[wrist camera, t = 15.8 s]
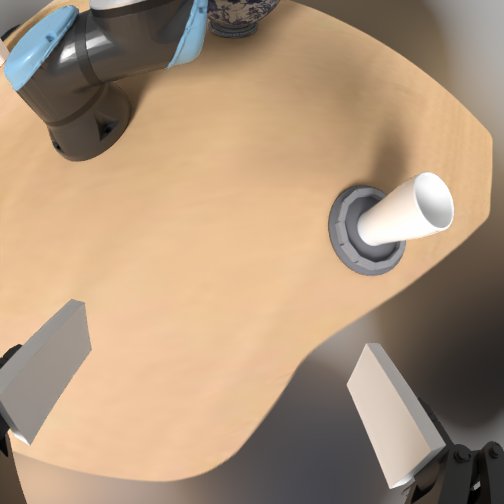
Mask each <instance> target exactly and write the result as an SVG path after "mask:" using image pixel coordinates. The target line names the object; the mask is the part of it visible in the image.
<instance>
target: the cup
mask: <svg viewBox="0 0 504 504" xmlns="http://www.w3.org/2000/svg"><path fill="white" fill-rule="evenodd" d="M9 54H10V52H9V51H8V49H7V48H6V46H5V45H4V43H3V42H2V40H1V39H0V67H1V66H2V65H3V64H4V63H5V61H6V60H7V58H8V56H9Z"/></svg>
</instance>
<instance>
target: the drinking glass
mask: <svg viewBox="0 0 504 504" xmlns="http://www.w3.org/2000/svg"><path fill="white" fill-rule="evenodd" d="M453 216H454V205H453V200H452V197H451V194H450V192H449V190H448V188H447V186H446V185H445V183H444V182H443V181H442V180H441V179H440V178H439V177H438V176H437V175H435V174H433V173H431V172H421V173H419V174H418V175H416V176H414V177H412V178H410V179H408V180H407V181H405V182H404V183H402V184H401V185H399V186H398V187H397V188H395V189H394V190H393V191H392V192H390V193H389V194H388V195H387V196H386V197H384V198H383V199H382V200H381V201H379V202H378V203H377V204H376V205H374V206H373V207H372V208H371V209H369V210H368V211H366V212H364V213H363V214H362V215H361V216H360V217H359V220H358V223H357V230H358V234H359V236H360V238H361V239H362V240H363V241H364V242H365V243H366V244H368V245H371V246H378V245H381V244H385V243H391V242H398V241H404V240H410V239H416V238H421V237H425V236H429V235H432V234H435V233H437V232H440V231H442V230H445V229H447V228H448V227H449V226H450V224H451V223H452V220H453Z"/></svg>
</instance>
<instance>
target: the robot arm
mask: <svg viewBox="0 0 504 504" xmlns="http://www.w3.org/2000/svg"><path fill="white" fill-rule="evenodd" d="M89 5H90V10H87V11H85V12H82V13H79V9H78V8H76V7H75V6H73V5H69V6H65V7H62V8H60V9H58V10H56V11H54V12H52V13H51V14H49V15H48V16H46V17H45V18H43V19H42V20H41V21H39V22H38V23H37V24H36V25H34V26H33V27H32V28H31V29H30V30H29V31H28V32H27V33H26V34H25V35H24V36H23V37H22V38H21V39H20V41H19V42H18V43H17V44H16V46H15V47H14V48H13V50H12V51H11V53H10V54H9V56H8V58H7V60H6V63H5V68H4V72H5V76H6V77H7V79H8V80H9V82H10V83H11V85H12V86H13V90H15V91H16V92H17V93H18V94H19V95H20V97H21V98H22V99H23V100H24V101H25V102H26V103H27V104H28V105H29V106H30V107H31V109H32V110H33V111H34V112H35V113H36V114H37V115H38V116H39V117H40V118H41V119H42V120H43V121H44V122H45V123H46V125H47V128H48V131H49V134H50V137H51V140H52V143H53V146H54V148H55V149H56V150H57V152H58V153H59V154H61V155H62V156H63V157H64V158H65V159H67V160H70V161H85V160H88V159H91V158H94V157H96V156H98V155H99V154H101V153H103V152H104V151H106V150H107V149H108V148H109V147H111V146H112V145H113V144H114V143H115V142H116V141H117V140H118V138H119V137H120V136H121V135H122V133H123V132H124V130H125V128H126V126H127V124H128V122H129V119H130V114H131V107H130V103H129V101H128V98H127V96H126V94H125V93H124V91H123V90H122V89H121V88H119V87H118V86H117V85H115V84H114V83H113V82H112V81H115V80H119V79H122V78H126V77H129V76H133V75H137V74H141V73H145V72H149V71H154V70H158V69H168V68H170V67H172V66H176V65H181V64H185V63H190V62H192V61H194V60H195V59H196V58H197V57H198V56H199V55H200V53H201V51H202V48H203V44H204V39H205V33H206V24H207V12H206V11H207V6H208V0H90V1H89ZM91 350H92V349H91V343H90V337H89V331H88V325H87V317H86V310H85V303H84V302H81V301H77V300H74V299H71V300H70V301H69V302H68V303H67V304H66V305H65V306H63V307H62V308H61V309H60V310H59V311H58V312H57V313H56V314H55V315H54V316H53V317H52V318H50V319H49V320H48V321H47V322H46V323H45V324H44V325H43V326H42V327H41V328H40V329H39V330H38V331H37V332H36V333H35V334H34V335H33V336H32V337H31V338H30V339H29V340H28V341H27V342H26V343H25V344H24V345H23V346H22V345H20V344H18V345H16V346H14V347H12V348H10V349H9V350H8V351H7V352H6V353H5V354H4V355H3V358H2V357H1V358H0V504H27V503H26V500H25V497H24V494H23V491H22V488H21V484H20V481H19V477H18V474H17V470H16V466H15V462H14V458H13V453H12V448H11V443H10V438H9V435H8V433H7V431H8V430H9V428H10V429H11V431H12V432H13V433H14V435H15V436H16V437H17V438H19V439H20V440H22V441H23V442H25V443H27V444H28V445H31V443H32V442H33V440H34V438H35V436H36V435H37V433H38V431H39V429H40V428H41V426H42V424H43V423H44V421H45V419H46V418H47V416H48V414H49V413H50V411H51V410H52V408H53V406H54V405H55V403H56V402H57V400H58V398H59V397H60V395H61V394H62V392H63V391H64V389H65V388H66V386H67V385H68V383H69V382H70V380H71V379H72V377H73V376H74V374H75V373H76V371H77V370H78V368H79V367H80V366H81V364H82V363H83V361H84V360H85V358H86V357H87V356H88V354H89V353H90V351H91ZM347 386H348V389H349V391H350V394H351V396H352V398H353V400H354V403H355V405H356V407H357V410H358V412H359V414H360V417H361V419H362V421H363V423H364V426H365V428H366V431H367V433H368V435H369V438H370V440H371V443H372V445H373V448H374V450H375V453H376V455H377V457H378V460H379V462H380V465H381V467H382V470H383V472H384V475H385V477H386V480H387V482H388V485H389V488H393V487H397V486H400V485H403V484H405V483H406V482H408V481H409V480H410V479H411V478H412V477H414V479H415V482H414V483H413V484H411V485H410V486H409V487H407V488H406V489H405V490H404V491H403V492H402V493H401V495H404V494H405V493H406V492H408V491H409V490H410V491H409V493H408V494H407V495H406V496H407V499H406V502H405V504H504V451H503V449H502V447H501V446H500V445H499V444H498V443H496V442H493V441H492V442H488V443H487V444H486V445H485V446H484V447H483V448H482V449H481V450H476V451H470V450H469V449H468V448H467V447H466V446H464V445H461V444H457V445H454V444H453V442H452V441H451V440H450V438H449V436H448V434H447V433H446V431H445V430H444V428H443V426H442V425H441V423H440V422H439V421H438V419H437V417H436V416H435V415H434V414H433V411H432V409H431V408H430V407H429V405H428V404H427V403H426V402H425V401H423V400H422V399H421V398H416V396H415V395H414V393H413V392H412V390H411V389H410V387H409V386H408V384H407V383H406V381H405V380H404V378H403V377H402V375H401V374H400V372H399V371H398V370H397V368H396V367H395V365H394V364H393V362H392V361H391V360H390V358H389V357H388V355H387V354H386V352H385V351H384V350H383V348H382V347H381V345H380V344H379V343H366V345H365V347H364V349H363V352H362V354H361V356H360V358H359V360H358V363H357V365H356V367H355V369H354V371H353V373H352V376H351V377H350V379H349V381H348V383H347ZM479 481H480V487H479V488H478V489H476V490H474V487H473V486H474V485H475V484H477V483H478V482H479Z"/></svg>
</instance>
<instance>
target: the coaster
mask: <svg viewBox="0 0 504 504" xmlns="http://www.w3.org/2000/svg"><path fill="white" fill-rule="evenodd" d="M386 196H387V194H385V193H384V192H382V191H380V190H379V189H376V188H374V187H370V186H355V187H352V188H350V189H348V190H346V191H345V192H343V193H342V194H341V195H340V196H339V197H338V198H337V199H336V201H335V202H334V204H333V206H332V208H331V211H330V214H329V221H328V230H329V237H330V240H331V243H332V246H333V248H334V250H335V252H336V254H337V256H338V257H339V258H340V260H341V261H342V262H343V263H344V264H345V265H346V266H347V267H348V268H350V269H351V270H353V271H355V272H357V273H359V274H362V275H367V276H375V275H381V274H384V273H386V272H388V271H390V270H391V269H393V268H394V267H395V266H396V265H397V264H398V262H399V261H400V259H401V257H402V255H403V253H404V250H405V245H406V240H404V241H398V242H391V243H385V244H381V245H378V246H371V245H368V244H366V243H365V242H364V241H363V240H362V239H361V238H360V236H359V234H358V230H357V223H358V220H359V217H360V216H361V215H362V214H363V213H364V212H366V211H368V210H369V209H371V208H372V207H373V206H374V205H376V204H377V203H378V202H379V201H381V200H382V199H383V198H384V197H386Z"/></svg>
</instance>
